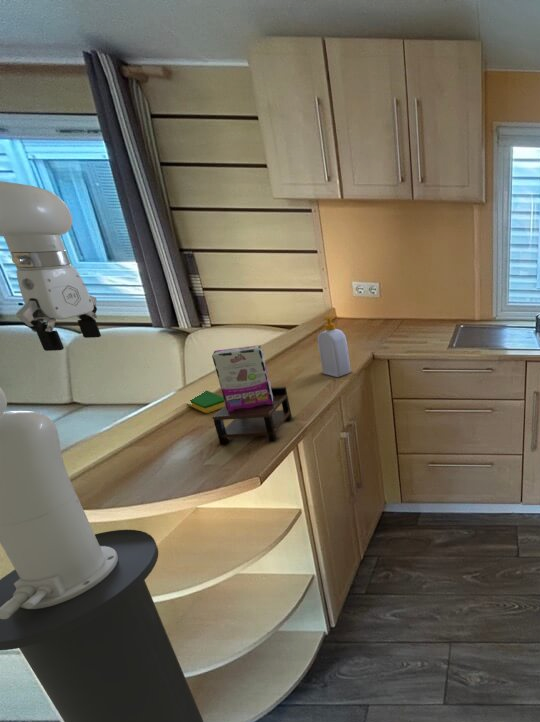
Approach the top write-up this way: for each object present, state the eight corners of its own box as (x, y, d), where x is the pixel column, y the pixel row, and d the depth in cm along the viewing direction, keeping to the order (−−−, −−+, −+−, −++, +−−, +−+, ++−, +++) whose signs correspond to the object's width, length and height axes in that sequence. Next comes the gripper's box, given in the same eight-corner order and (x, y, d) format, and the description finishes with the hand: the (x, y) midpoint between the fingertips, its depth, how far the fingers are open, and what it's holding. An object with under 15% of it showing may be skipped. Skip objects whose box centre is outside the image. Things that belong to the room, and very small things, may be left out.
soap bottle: (352, 372, 162) (345, 316, 154) (338, 377, 157) (329, 319, 148) (337, 368, 166) (328, 313, 158) (322, 373, 161) (313, 316, 152)
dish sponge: (206, 413, 127) (204, 406, 126) (185, 404, 134) (183, 397, 133) (229, 405, 133) (228, 398, 132) (208, 396, 140) (206, 390, 139)
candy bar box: (273, 398, 118) (261, 344, 112) (273, 404, 114) (261, 348, 108) (228, 405, 113) (213, 349, 107) (226, 412, 109) (211, 354, 103)
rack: (275, 441, 111) (267, 407, 108) (220, 444, 110) (210, 410, 106) (292, 418, 124) (285, 387, 121) (243, 421, 123) (235, 389, 119)
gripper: (22, 265, 73) (59, 355, 79) (97, 257, 89) (123, 332, 95) (-26, 265, 72) (15, 356, 78) (59, 257, 88) (87, 333, 94)
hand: (74, 343), depth 87 cm, fingers open, 9 cm apart
